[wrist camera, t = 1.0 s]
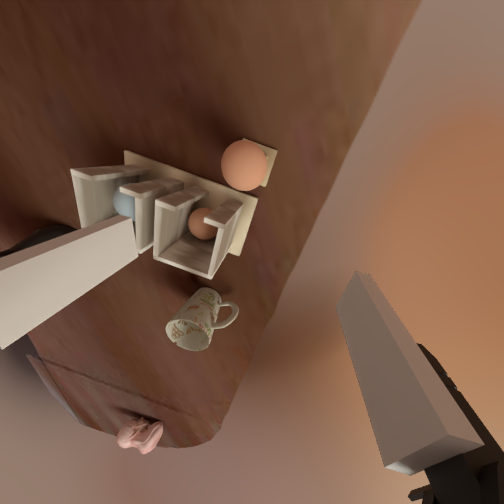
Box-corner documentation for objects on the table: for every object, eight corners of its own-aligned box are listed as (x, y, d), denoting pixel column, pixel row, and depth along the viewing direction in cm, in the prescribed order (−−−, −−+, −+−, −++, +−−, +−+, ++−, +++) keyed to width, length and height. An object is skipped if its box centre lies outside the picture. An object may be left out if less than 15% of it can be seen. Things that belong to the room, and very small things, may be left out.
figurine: (167, 413, 85) (124, 412, 81) (158, 448, 76) (109, 450, 71) (165, 421, 91) (124, 420, 86) (156, 455, 81) (111, 457, 77)
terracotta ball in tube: (194, 227, 32) (180, 238, 28) (199, 200, 30) (183, 207, 26) (221, 236, 32) (210, 249, 28) (227, 210, 30) (217, 220, 26)
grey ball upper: (118, 213, 26) (102, 217, 22) (124, 178, 26) (109, 175, 21) (155, 223, 28) (148, 229, 24) (163, 191, 27) (156, 190, 23)
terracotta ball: (224, 179, 23) (210, 185, 19) (234, 135, 21) (220, 130, 16) (261, 192, 23) (255, 201, 19) (275, 150, 21) (272, 149, 16)
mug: (185, 285, 41) (157, 321, 32) (236, 277, 37) (221, 315, 28) (200, 312, 44) (178, 351, 35) (248, 307, 40) (238, 349, 32)
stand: (234, 175, 28) (224, 179, 23) (243, 138, 25) (233, 134, 21) (265, 186, 28) (261, 193, 23) (277, 150, 25) (275, 149, 21)
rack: (130, 214, 34) (71, 237, 25) (127, 150, 29) (51, 148, 20) (240, 254, 34) (222, 291, 25) (258, 197, 29) (244, 219, 19)
